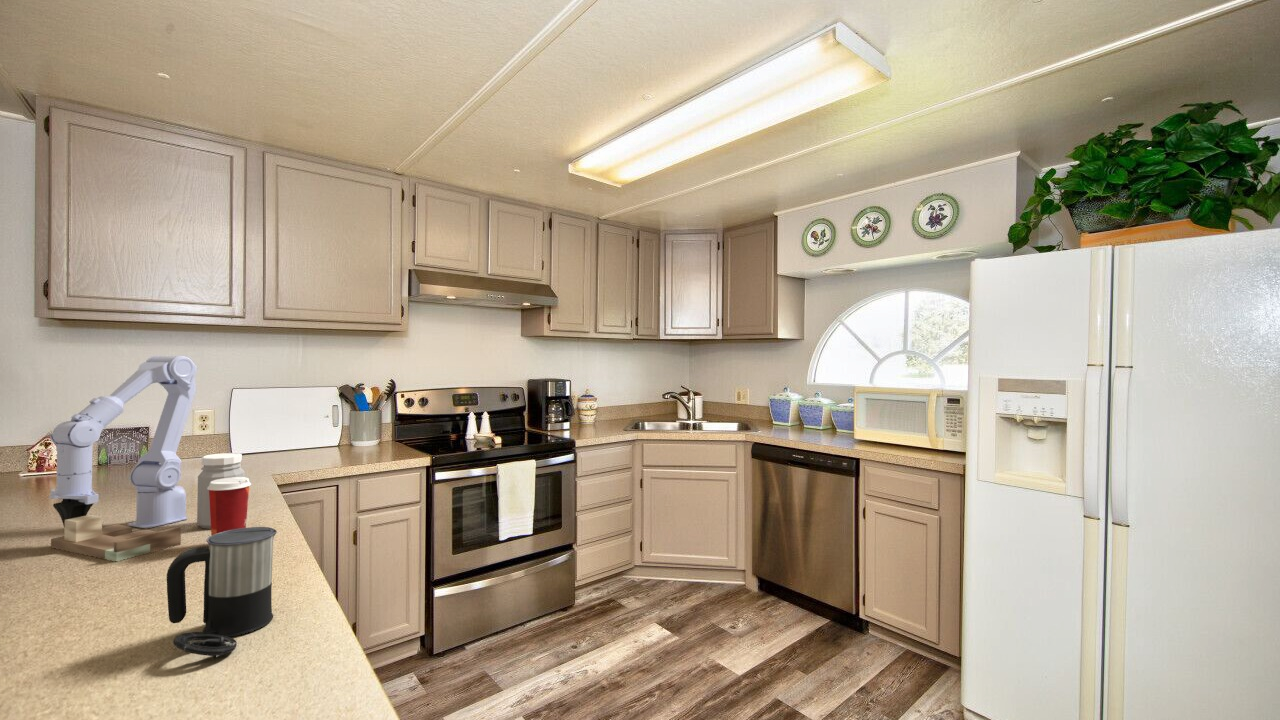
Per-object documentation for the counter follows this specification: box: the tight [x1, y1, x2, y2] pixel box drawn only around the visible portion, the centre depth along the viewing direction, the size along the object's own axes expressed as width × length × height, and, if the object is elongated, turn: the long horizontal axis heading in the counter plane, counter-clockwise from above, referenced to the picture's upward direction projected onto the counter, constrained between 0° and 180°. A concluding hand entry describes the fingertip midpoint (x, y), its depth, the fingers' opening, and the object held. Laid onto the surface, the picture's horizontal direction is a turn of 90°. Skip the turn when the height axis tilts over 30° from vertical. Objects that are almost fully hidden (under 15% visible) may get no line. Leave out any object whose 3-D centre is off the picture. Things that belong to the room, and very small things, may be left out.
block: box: [63, 514, 103, 542], centre depth 124 cm, size 4×4×4 cm
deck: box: [50, 523, 182, 562], centre depth 124 cm, size 12×24×4 cm, turn 71°
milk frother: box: [166, 526, 278, 659], centre depth 84 cm, size 14×16×15 cm
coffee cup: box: [207, 476, 252, 536], centre depth 126 cm, size 8×8×15 cm
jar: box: [196, 452, 246, 530], centre depth 142 cm, size 10×10×18 cm
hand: (73, 532), depth 125 cm, fingers closed
